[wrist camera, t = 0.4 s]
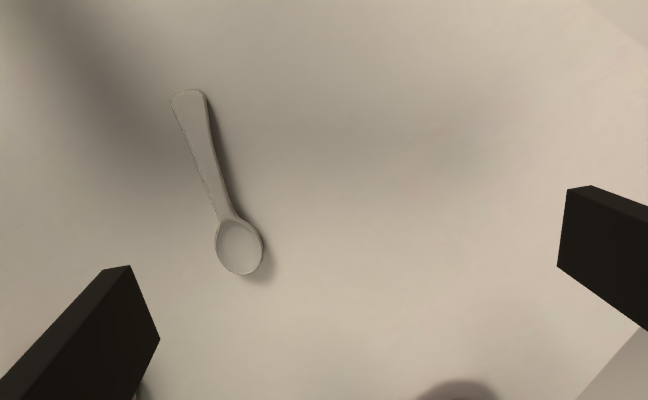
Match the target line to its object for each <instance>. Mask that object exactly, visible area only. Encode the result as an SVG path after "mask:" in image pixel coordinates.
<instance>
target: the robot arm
mask: <svg viewBox="0 0 648 400" xmlns="http://www.w3.org/2000/svg"><path fill="white" fill-rule="evenodd" d="M557 267H558V268H560V269H561V270H563V271H564V272H565V273H567V274H568V275H570V276H571V277H572V278H574V279H575V280H576V281H578V282H579V283H581V284H582V285H583V286H585V287H586V288H588V289H589V290H590V291H592V292H593V293H595V294H596V295H597V296H599V297H600V298H602V299H603V300H604V301H606V302H607V303H609V304H610V305H611V306H613V307H614V308H616V309H617V310H618V311H620V312H621V313H623V314H624V315H625V316H627V317H628V318H630V319H631V320H632V321H634V322H635V323H637V324H638V325H639V326H641V327H642V328H643V329H645V330H646V331H648V206H646V205H643V204H640V203H638V202H635V201H632V200H630V199H627V198H624V197H621V196H619V195H616V194H613V193H611V192H608V191H605V190H603V189H600V188H597V187H594V186H592V185H590V186H584V187H578V188H572V189H567V194H566V202H565V209H564V216H563V224H562V231H561V239H560V246H559V254H558V261H557ZM159 341H160V337H159V334H158V332H157V329H156V327H155V325H154V322H153V320H152V317H151V315H150V312H149V310H148V307H147V305H146V302H145V300H144V298H143V295H142V293H141V290H140V288H139V285H138V283H137V280H136V278H135V276H134V273H133V271H132V268H131V266H130V265H127V266H121V267H115V268H109V269H104V270H102V271H101V272H100V273H99V274H98V275H97V277H96V278H95V279H94V280H93V281H92V282H91V283H90V284H89V285H88V286H87V287H86V288H85V289H84V290H83V292H82V293H81V294H80V295H79V296H78V297H77V298H76V299H75V300H74V301H73V302H72V303H71V304H70V305H69V307H68V308H67V309H66V310H65V311H64V312H63V313H62V314H61V315H60V316H59V317H58V318H57V319H56V321H55V322H54V323H53V324H52V325H51V326H50V327H49V328H48V329H47V330H46V331H45V332H44V333H43V334H42V336H41V337H40V338H39V339H38V340H37V341H36V342H35V343H34V344H33V345H32V346H31V347H30V348H29V349H28V351H27V352H26V353H25V354H24V355H23V356H22V357H21V358H20V359H19V360H18V361H17V362H16V363H15V364H14V366H13V367H12V368H11V369H10V370H9V371H8V372H7V373H6V374H5V375H4V376H3V377H2V378H1V380H0V400H132V399H133V397H134V394H135V392H136V390H137V388H138V386H139V384H140V382H141V380H142V377H143V375H144V373H145V371H146V369H147V367H148V365H149V363H150V361H151V358H152V356H153V354H154V352H155V350H156V348H157V346H158V344H159Z"/></svg>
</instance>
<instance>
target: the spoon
mask: <svg viewBox="0 0 648 400" xmlns="http://www.w3.org/2000/svg"><path fill="white" fill-rule="evenodd" d="M171 105H172V109H173V111H174V114H175V116H176V118H177V120H178V122H179V124H180V126H181V128H182V131H183V133H184V135H185V137H186V139H187V142H188V144H189V147H190V149H191V152H192V154H193V157H194V160H195V163H196V165H197V168H198V171H199V173H200V176H201V178H202V181H203V183H204V185H205V188H206V190H207V192H208V195H209V197H210V199H211V201H212V204H213V206H214V208H215V211H216V213H217V216H218V220H219V227H218V230H217V233H216V236H215V249H216V253H217V256H218V258H219V260H220V262H221V263H222V264H223V266H224V267H225V268H226V269H228V270H229V271H230V272H232V273H234V274H237V275H248V274H251V273H253V272H254V271H255V270H256V269H257V268H258V267H259V265H260V264H261V261H262V258H263V245H262V241H261V238H260V236H259V234H258V233H257V231H256V230H255V228H254V227H253V226H252V225H250V224H249V223H248V222H246V221H244V220H242V219H241V218H240V217H239V216H238V215H237V214H236V212H235V211H234V209H233V206H232V204H231V202H230V199H229V196H228V193H227V190H226V187H225V184H224V180H223V177H222V174H221V170H220V167H219V164H218V160H217V157H216V153H215V150H214V146H213V141H212V136H211V130H210V124H209V117H208V109H207V102H206V98H205V95H204V93H202V92H201V91H200V90H188V91H184V92H180V93H177V94H175V95H174V96H173V97H172V98H171Z"/></svg>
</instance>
